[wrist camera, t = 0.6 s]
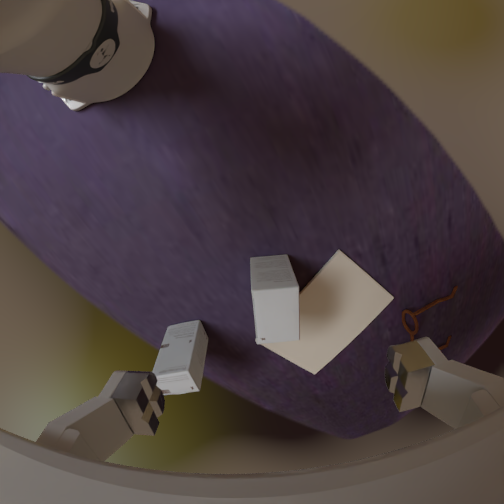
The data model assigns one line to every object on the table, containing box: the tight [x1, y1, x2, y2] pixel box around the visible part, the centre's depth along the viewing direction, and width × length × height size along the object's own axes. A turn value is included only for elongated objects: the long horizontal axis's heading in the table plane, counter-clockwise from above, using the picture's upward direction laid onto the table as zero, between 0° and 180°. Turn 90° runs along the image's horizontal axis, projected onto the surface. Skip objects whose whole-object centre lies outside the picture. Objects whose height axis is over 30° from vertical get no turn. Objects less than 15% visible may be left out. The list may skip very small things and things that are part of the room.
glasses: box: [402, 286, 458, 350], centre depth 48 cm, size 13×13×5 cm
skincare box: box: [152, 320, 208, 395], centre depth 43 cm, size 6×4×12 cm
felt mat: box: [255, 249, 394, 374], centre depth 48 cm, size 14×20×1 cm
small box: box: [250, 255, 300, 344], centre depth 40 cm, size 8×6×10 cm
